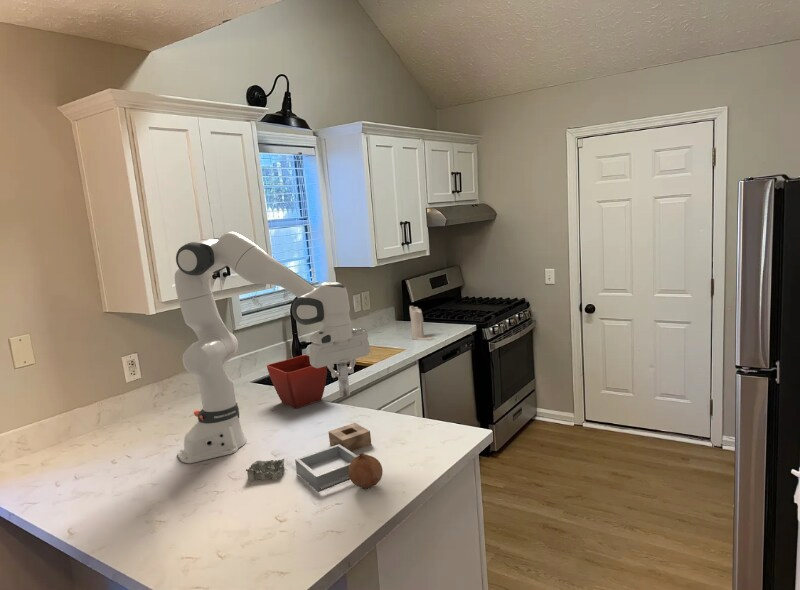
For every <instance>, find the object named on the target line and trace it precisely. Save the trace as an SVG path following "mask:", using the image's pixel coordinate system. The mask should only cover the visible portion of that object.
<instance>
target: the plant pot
mask: <svg viewBox="0 0 800 590" xmlns="http://www.w3.org/2000/svg"><path fill="white" fill-rule="evenodd" d="M266 369H267V371H268V374H269V378H270V380H271V382H272V385H273V387H274V389H275V392H276V394H277V396H278V398H279V399H280V401H281V403H283V404H284V405H287V406H289V407H290V408H293V409H300V408H302V407H306V406H308V405H312V404H313V403H318V402H320V401H322V399H323V396H324V392H325V389H326V382H327V376H328V367H327V366H324V367H320V368H315V367H313V366H312V365H311V364H310V359H309V355H308V354H303V355H298V356H295V357H292V358H288V359H283V360H281V361H277V362H273V363H268V364H267V365H266Z"/></svg>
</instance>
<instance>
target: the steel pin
mask: <svg viewBox="0 0 800 590" xmlns="http://www.w3.org/2000/svg"><path fill="white" fill-rule="evenodd" d="M348 363H350V361H349V358H348V359H344V360H340V361H339V363H336V369H337V370H336V371H337V372H338V377H337V378H338V388H339V395H340V396H341V397H348V396H350V395H351V390H350V382H349V380H350V379H349V373H348V369H347V367H348Z"/></svg>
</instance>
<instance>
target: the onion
mask: <svg viewBox="0 0 800 590" xmlns="http://www.w3.org/2000/svg"><path fill="white" fill-rule="evenodd" d="M349 463H350V462H349ZM383 472H384V470H383V466H382V463H381V462H380V461H379V459H377V458H376V457H374V456H372V455H369V454H365V453H364V452H361V453H359V454H358V455H357V457H355V458H354V459H353V460H352V461H351V463H350V465H349V469H348V474H349V475H348V478H350V480H349V481H351V483H352V484H354V485H355V486H356V487H358V488H360V489H362V490H369V489H372V488H373V487H375V486H376V485H378V483H379V482H380V481H381V479H382V477H383Z"/></svg>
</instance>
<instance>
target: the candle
mask: <svg viewBox="0 0 800 590" xmlns="http://www.w3.org/2000/svg"><path fill="white" fill-rule="evenodd" d="M423 316H424V315H423V311H422V308H419V307H418V306H414V305H409V317H410V324H411V325H410V326H411V328H410V329H411V339H412V340H415V341H417V340H419V341H429V340H430V341H431V340H434V339H435V338H434V337H431V336H425V332H424V317H423Z"/></svg>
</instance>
